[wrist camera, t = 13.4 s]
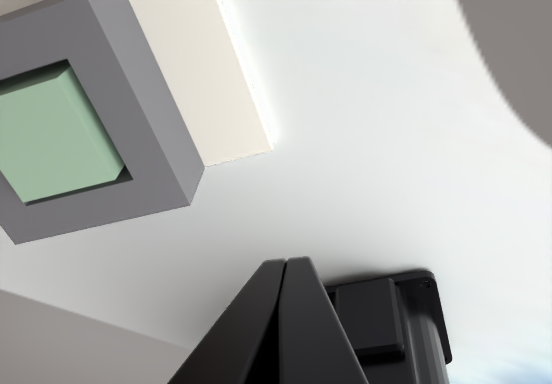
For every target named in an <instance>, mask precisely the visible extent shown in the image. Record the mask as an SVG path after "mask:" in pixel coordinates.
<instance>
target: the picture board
mask: <svg viewBox="0 0 552 384" xmlns="http://www.w3.org/2000/svg"><path fill="white" fill-rule="evenodd" d="M66 59H68V61H69V63H70V65H71V67H72V68H73V70H74V72H75V74H76V76H77V78H78V79H79V81H80V83H81V85H82V87H83V88H84V90H85V92H86V94H87V96H88V98H89V99H90V101H91V103H92V105H93V107H94V108H95V110H96V112H97V114H98V116H99V118H100V119H101V121H102V123H103V125H104V127H105V128H106V130H107V132H108V134H109V136H110V138H111V139H112V141H113V143H114V145H115V147H116V149H117V150H118V152H119V154H120V156H121V158H122V159H123V161H124V163H125V165H124V167H123V168H122V170H121V171H120V173H119V175H118V176H117V178H116V179H115V180H112V181H108V182H104V183H100V184H96V185H92V186H88V187H84V188H80V189H76V190H72V191H68V192H64V193H60V194H56V195H52V196H48V197H44V198H40V199H36V200H32V201H28V202H22V200H21V199H20V197H19V196H18V195H17V193H16V192H15V190H14V189H13V187H12V186H11V185H10V183H9V182H8V180H7V179H6V177H5V176H4V175H3V173H2V172H1V170H0V225H1V226H2V228H3V229H4V230H5V232H6V233H7V234H8V236H9V237H10V238H11V240H12V241H13V242H14V244H15V245H16V244H20V243H25V242H29V241H34V240H38V239H43V238H47V237H52V236H56V235H61V234H65V233H69V232H74V231H78V230H83V229H87V228H92V227H96V226H101V225H105V224H109V223H114V222H118V221H123V220H127V219H132V218H136V217H141V216H145V215H150V214H154V213H158V212H163V211H167V210H172V209H176V208H181V207H185V206H190V204H191V202H192V199H193V197H194V194H195V192H196V189H197V186H198V184H199V181H200V179H201V176H202V174H203V171H204V169H205V167H207V166H212V165H216V164H220V163H224V162H228V161H232V160H236V159H240V158H245V157H249V156H253V155H257V154H261V153H265V152H269V151H272V150H273V144H274V143H273V141H272V138H271V135H270V132H269V130H268V127H267V124H266V121H265V119H264V116H263V113H262V110H261V108H260V105H259V102H258V100H257V97H256V94H255V91H254V89H253V86H252V83H251V80H250V78H249V75H248V72H247V69H246V67H245V64H244V61H243V58H242V56H241V53H240V50H239V48H238V45H237V42H236V39H235V37H234V34H233V31H232V28H231V26H230V23H229V20H228V17H227V15H226V12H225V9H224V6H223V4H222V1H221V0H0V81H1V80H4V79H7V78H10V77H13V76H16V75H19V74H23V73H26V72H29V71H32V70H35V69H38V68H41V67H44V66H47V65H51V64H54V63H57V62H60V61H63V60H66Z"/></svg>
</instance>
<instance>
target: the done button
mask: <svg viewBox="0 0 552 384" xmlns="http://www.w3.org/2000/svg"><path fill="white" fill-rule="evenodd" d="M124 165H125V163H124V161H123V159H122V158H121V156H120V154H119V152H118V150H117V149H116V147H115V145H114V143H113V141H112V139H111V138H110V136H109V134H108V132H107V130H106V128H105V127H104V125H103V123H102V121H101V119H100V118H99V116H98V114H97V112H96V110H95V108H94V107H93V105H92V103H91V101H90V99H89V98H88V96H87V94H86V92H85V90H84V88H83V87H82V85H81V83H80V81H79V79H78V78H77V76H76V74H75V72H74V70H73V68H72V67H71V65H70V63H69V61H68V59H66V60H63V61H60V62H57V63H54V64H51V65H47V66H44V67H41V68H38V69H35V70H32V71H29V72H26V73H23V74H19V75H16V76H13V77H10V78H7V79H4V80H1V81H0V170H1V172H2V173H3V175H4V176H5V177H6V179H7V180H8V182H9V183H10V185H11V186H12V187H13V189H14V190H15V192H16V193H17V195H18V196H19V197H20V199H21V200H22V202H28V201H32V200H36V199H40V198H44V197H48V196H52V195H56V194H60V193H64V192H68V191H72V190H76V189H80V188H84V187H88V186H92V185H96V184H100V183H104V182H108V181H112V180H115V179H116V178H117V176H118V175H119V173H120V171H121V170H122V168H123V167H124Z"/></svg>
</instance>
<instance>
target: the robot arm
mask: <svg viewBox="0 0 552 384" xmlns="http://www.w3.org/2000/svg"><path fill="white" fill-rule="evenodd" d="M422 281H428V282H422ZM451 361H452V354H451V350H450V345H449V340H448V335H447V331H446V326H445V321H444V317H443V312H442V307H441V302H440V298H439V293H438V288H437V283H436V279H435V276H434V274H433V273H431V272H429V271H419V272H414V273H408V274H402V275H396V276H390V277H384V278H378V279H372V280H367V281H361V282H355V283H349V284H343V285H337V286H331V287H325V288H324V286H323V284H322V282H321V280H320V278H319V276H318V273H317V271H316V269H315V267H314V265H313V263H312V261H311V259H310V258H309V257H308V256H304V257H294V258H289V259H288V260H286V259H273V260H266V261H264V262H263V263H262V264H261V266H260V267H259V268H258V269H257V271H256V272H255V273H254V275H253V276H252V277H251V278H250V280H249V281H248V282H247V283H246V285H245V286H244V287H243V288H242V290H241V291H240V292H239V293H238V295H237V296H236V297H235V299H234V300H233V301H232V302H231V304H230V305H229V306H228V307H227V309H226V310H225V311H224V312H223V314H222V315H221V316H220V317H219V319H218V320H217V321H216V323H215V324H214V325H213V326H212V328H211V329H210V330H209V331H208V333H207V334H206V335H205V336H204V338H203V339H202V340H201V341H200V343H199V344H198V345H197V347H196V348H195V349H194V350H193V352H192V353H191V354H190V355H189V357H188V358H187V359H186V360H185V362H184V363H183V364H182V365H181V367H180V368H179V369H178V371H177V372H176V373H175V374H174V376H173V377H172V378H171V379H170V381H169V382H168V383H167V384H450V383H449V379H448V374H447V369H446V365H447V364H449V363H450V362H451Z"/></svg>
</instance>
